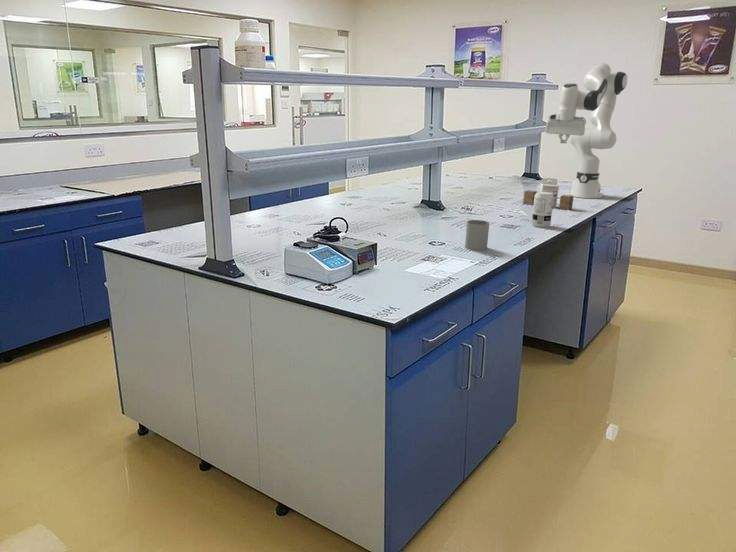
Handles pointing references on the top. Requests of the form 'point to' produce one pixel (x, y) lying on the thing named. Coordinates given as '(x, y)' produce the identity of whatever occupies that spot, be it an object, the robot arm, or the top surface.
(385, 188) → the top surface
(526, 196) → the digit block seven
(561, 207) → the digit block one
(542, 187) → the ink box
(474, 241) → the cup
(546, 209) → the supplement can
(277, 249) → the top surface
